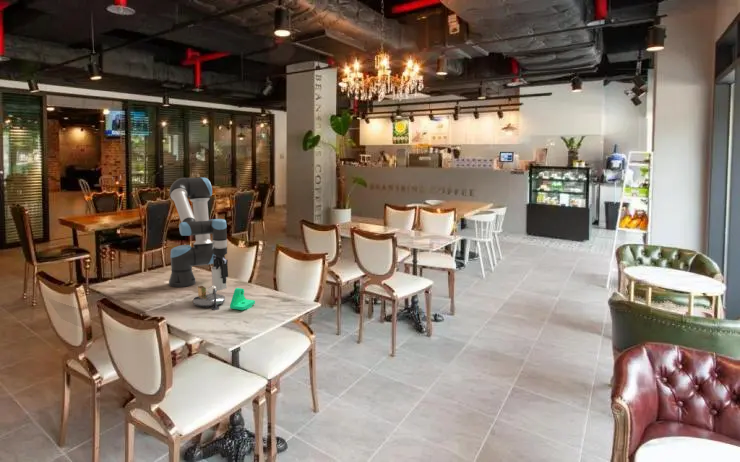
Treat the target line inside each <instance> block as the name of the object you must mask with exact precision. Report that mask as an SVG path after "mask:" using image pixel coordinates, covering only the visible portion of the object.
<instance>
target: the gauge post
mask: <svg viewBox="0 0 740 462" xmlns="http://www.w3.org/2000/svg"><path fill="white" fill-rule="evenodd" d="M217 292H218V290H217V288H216V287H215V286H212V285H210V286H209V287H208V289H207V294H211V295H214V307H210V308H211V310H213V311H217V310H220V307H219V306H217V304H216V294H217Z"/></svg>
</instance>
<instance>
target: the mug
mask: <svg viewBox="0 0 740 462" xmlns="http://www.w3.org/2000/svg"><path fill="white" fill-rule="evenodd" d="M210 269H211V283H212V284H211V286H215V287H216V288H217V291H222V290H223V289H221V278H220V277H222V276H221V269H220V266H219V268H218V269H217V270H216V267H211V268H210ZM227 280H228V277H226V281H227Z"/></svg>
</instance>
